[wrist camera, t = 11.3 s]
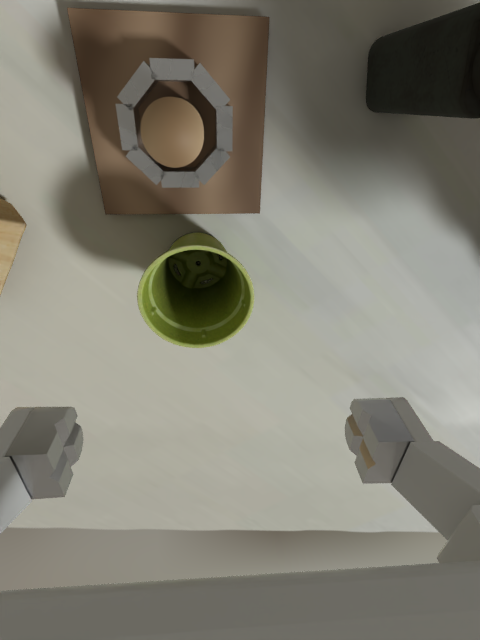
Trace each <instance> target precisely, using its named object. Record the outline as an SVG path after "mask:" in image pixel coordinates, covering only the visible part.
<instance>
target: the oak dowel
mask: <svg viewBox="0 0 480 640" xmlns="http://www.w3.org/2000/svg"><path fill="white" fill-rule="evenodd" d="M140 129H141V138H142V141H143V144H144V146H145V148H146V150H147V152H148V153H149V154H150V155H151V157H152V158H153V159H155V160H156V161H157V162H159V163H160V164H162V165H164V166H167V167H173V168H177V167H183V166H186V165H188V164H190V163H191V162H193V161H194V160H195V159H196V158H197V156H198V155H199V153H200V151H201V149H202V146H203V142H204V127H203V120H202V117H201V115H200V113H199V111H198V110H197V108H196V107H195V106H194V105H193V104H192V103H190V102H189V101H187V100H185V99H182V98H176V97H163V98H160V99H157V100H155V101H154V102H152V103H151V104H150V105H149V106H148V107H147V109H146V110H145V112H144V114H143V117H142V120H141V128H140Z"/></svg>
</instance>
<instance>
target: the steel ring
mask: <svg viewBox="0 0 480 640" xmlns="http://www.w3.org/2000/svg"><path fill="white" fill-rule="evenodd" d="M149 59H150V65H149V64H147V63H146V62H145V61H143V62H142V64H141V65H140V66H139V68H138V69H137V70H136V72H135V73H134V75H133V76H132V77H131V79H130V80H129V81H128V83H127V84H126V85H125V87H124V88H123V89H122V91H121V92H120V94H119V95H118V96H117V98H118V99H119V100H120V101H121V102H122V103H123V104H116V111H117V118H118V125H119V131H120V138H121V145H122V150H130V151H129V152H128V154H127V155H126V157H127V158H128V159H129V160H130V161H131V162H132V163H133V164H134V165H135V166H136V167H137V168H139V169H140V170H141V171H142V172H143V173H144V174H145V175H146V176H147V177H148V178H149V179H150V180H151V181H152V182H154V183H155V184H156V185H157V184H158V183H159V182H160V181H161V183H162V188H199V181H200V182H201V183H202V184H203V185H205V184H206V183H207V182H208V181H209V180H210V178H211V177H212V176H213V175H214V174H215V173H216V172H217V171H218V170H219V169H220V168H221V166H222V165H223V164H224V163H225V162H226V161H227V160H228V159H229V158H230V156H229V154H228V152H227V151H232V129H233V106H225V105H226V104H227V103H228V102H229V101H230V99H229V97H228V96H227V95H226V94H225V93H224V91H223V90H222V89H221V88H220V86H219V85H218V84H217V83H216V82H215V80H214V79H213V78H212V77H211V76H210V74H209V73H208V72H207V71H206V69H205V68H204V67H203V66H202V65H201V63H199V64H198V66H197V67H196V68H195V65H194V59H167V58H149ZM159 81H171V82H192V83H193V84H194V85H195V86H196V88H197V89H198V90H199V91H200V92H201V93H202V95H203V96H204V97H205V98H206V99H207V100H208V102H209V103H210V104H211V105H212V106H213V107H214V109H215V126H216V144H215V146H214V147H213V148H212V149H211V150H210V151H209V152H208V153H207V155H206V156H205V157H204V158H203V159H202V160H201V161H200V162H199V164H198V165H197V166H196V167H177V168H173V167H166V166H164V165H162V164H160V163H159V162H157V161H156V160H155V159H153V158H152V157H151V155H150V154H149V153H148V152H147V150H146V148H145V146H144V144H143V143H142V138H141V129H140V128H141V125H140V117H139V106H140V105H141V104H142V102H143V101H144V100H145V99H146V97H147V96H148V95H149V93H150V92H151V91H152V89H153V88H154V87H155V86H156V84H157V83H158V82H159Z"/></svg>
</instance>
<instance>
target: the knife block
mask: <svg viewBox="0 0 480 640" xmlns="http://www.w3.org/2000/svg"><path fill="white" fill-rule="evenodd" d="M25 228H26V223H25V221H24V220H23V218H22V217H21V216H20V214H19V213H18V212H17V210H16V209H15V208H14V207H13V206H12V204H10V203H8V202H7V201H5V200H3V199H1V198H0V295H1V292H2V289H3V287H4V284H5V281H6V279H7V276H8V273H9V271H10V269H11V266H12V264H13V261H14V258H15V255H16V252H17V249H18V246H19V243H20V240H21V237H22V235H23V232H24V230H25Z"/></svg>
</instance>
